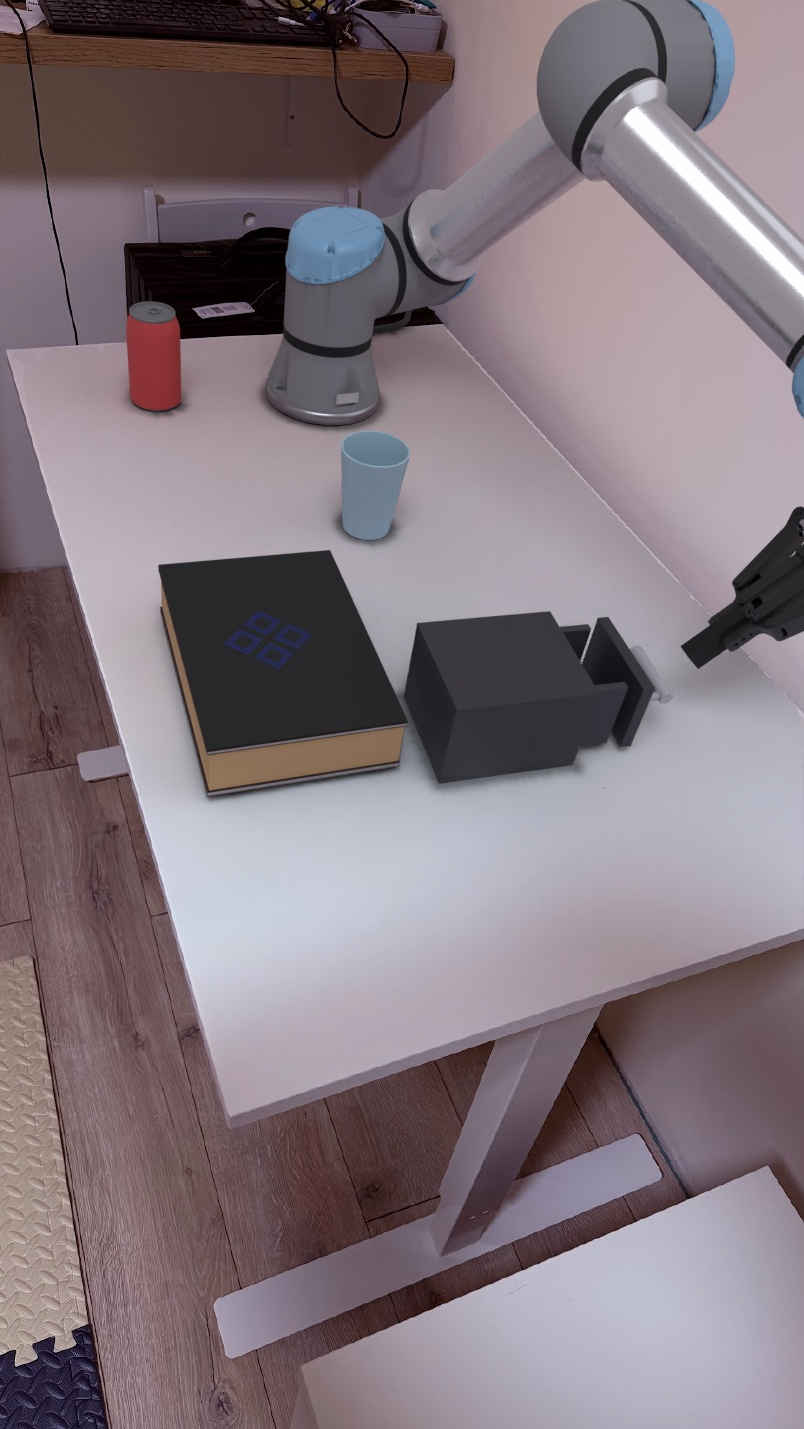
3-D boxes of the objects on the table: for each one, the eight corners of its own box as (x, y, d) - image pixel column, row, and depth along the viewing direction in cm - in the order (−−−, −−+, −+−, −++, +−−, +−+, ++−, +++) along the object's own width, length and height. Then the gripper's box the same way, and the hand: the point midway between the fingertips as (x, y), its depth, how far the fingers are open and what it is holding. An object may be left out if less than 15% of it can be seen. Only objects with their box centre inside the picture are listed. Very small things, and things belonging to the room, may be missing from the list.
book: (325, 600, 108) (330, 549, 103) (398, 772, 92) (408, 720, 87) (160, 617, 102) (157, 564, 98) (207, 803, 86) (207, 750, 82)
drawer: (621, 670, 105) (643, 613, 99) (666, 741, 98) (692, 683, 93) (475, 687, 100) (490, 627, 95) (511, 762, 93) (530, 702, 88)
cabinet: (528, 682, 103) (550, 610, 96) (572, 765, 95) (599, 693, 89) (403, 696, 99) (416, 622, 92) (439, 783, 91) (456, 709, 85)
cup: (409, 541, 118) (421, 462, 110) (347, 550, 115) (356, 470, 107) (383, 505, 122) (394, 427, 115) (324, 513, 119) (330, 433, 112)
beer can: (190, 397, 134) (189, 308, 126) (166, 418, 130) (163, 327, 121) (146, 383, 135) (141, 294, 127) (120, 404, 131) (114, 313, 122)
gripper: (965, 567, 90) (736, 721, 96) (877, 486, 98) (673, 632, 105) (947, 520, 84) (707, 686, 91) (857, 439, 93) (643, 596, 100)
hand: (689, 657), depth 98 cm, fingers closed
